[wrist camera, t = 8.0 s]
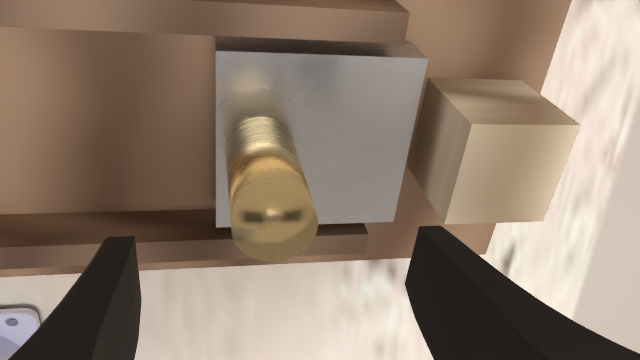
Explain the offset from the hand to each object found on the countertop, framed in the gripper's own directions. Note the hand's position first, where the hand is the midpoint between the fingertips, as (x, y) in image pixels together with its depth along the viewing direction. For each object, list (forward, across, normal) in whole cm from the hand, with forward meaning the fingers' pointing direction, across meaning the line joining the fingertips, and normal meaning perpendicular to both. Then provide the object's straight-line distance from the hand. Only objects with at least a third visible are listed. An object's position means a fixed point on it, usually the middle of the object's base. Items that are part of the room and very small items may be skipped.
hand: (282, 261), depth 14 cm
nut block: (+8, -8, 0) cm, 12 cm away
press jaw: (+8, -2, 0) cm, 8 cm away
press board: (+9, 0, 0) cm, 9 cm away
